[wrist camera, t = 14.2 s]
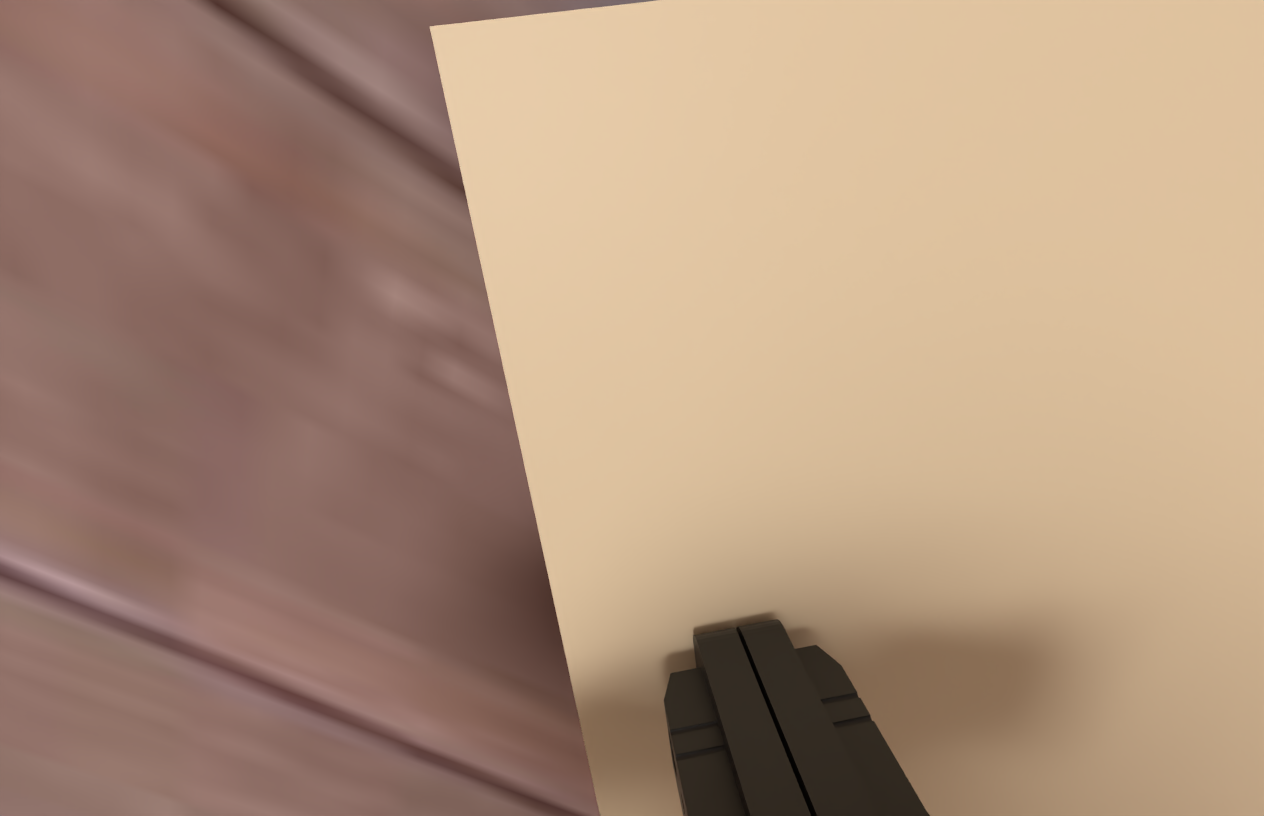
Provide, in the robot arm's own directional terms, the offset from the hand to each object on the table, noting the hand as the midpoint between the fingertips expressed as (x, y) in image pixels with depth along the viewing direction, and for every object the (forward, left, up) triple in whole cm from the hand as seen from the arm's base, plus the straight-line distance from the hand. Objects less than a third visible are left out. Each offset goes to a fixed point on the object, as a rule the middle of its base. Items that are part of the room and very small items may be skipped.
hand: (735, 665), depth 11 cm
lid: (-5, 0, 0) cm, 5 cm away
